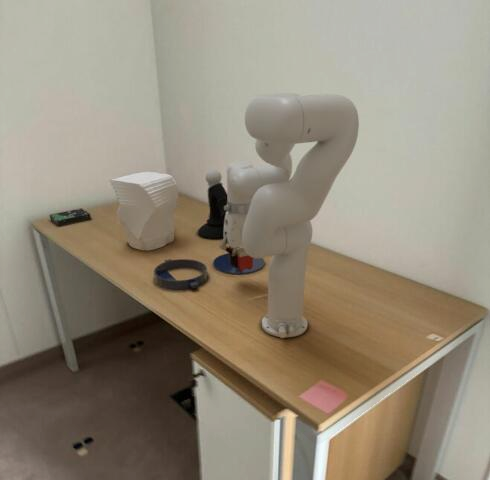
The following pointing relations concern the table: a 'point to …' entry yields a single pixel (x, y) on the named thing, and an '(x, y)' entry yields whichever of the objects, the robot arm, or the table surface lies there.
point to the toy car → (243, 260)
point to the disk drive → (70, 217)
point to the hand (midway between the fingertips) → (240, 263)
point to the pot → (170, 282)
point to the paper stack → (147, 208)
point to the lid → (225, 267)
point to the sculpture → (215, 207)
